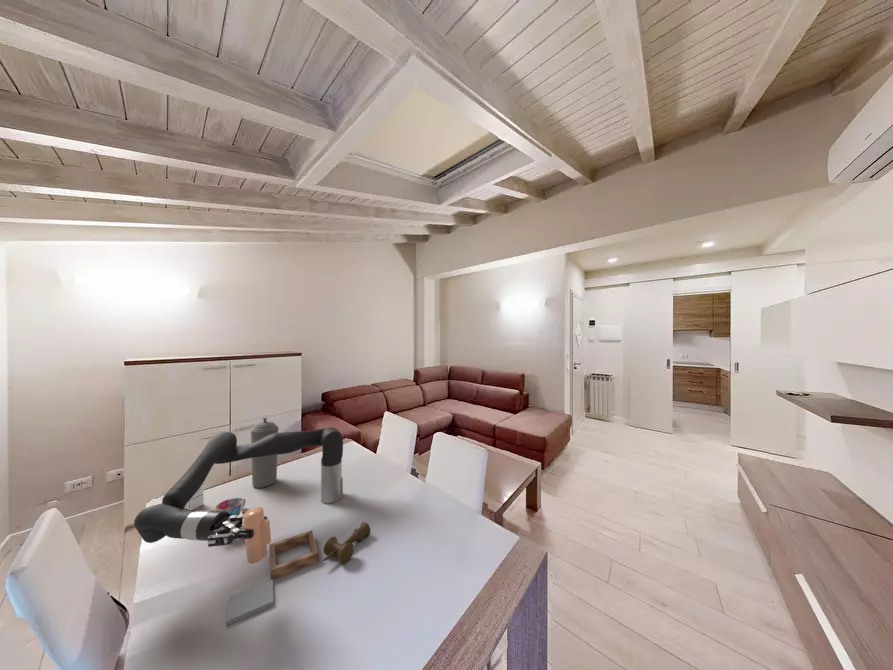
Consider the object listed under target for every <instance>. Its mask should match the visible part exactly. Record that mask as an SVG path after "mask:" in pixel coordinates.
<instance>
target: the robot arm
mask: <svg viewBox="0 0 893 670" xmlns="http://www.w3.org/2000/svg"><path fill="white" fill-rule="evenodd" d="M237 442H238V438H237V435H236V434H235V433H233V432H231V431H224V432H219V433H218V434H215V435H214V436H212V437H211V438H210V440H209V441H208V442H207V443H206V445H205V447H204V448H203V449H202V451H201V452H200V454H199V455H198V456H197V458H196V459H195V461H194V462H193V463H192V464H191V466H190V467H189V468H188V469H187V471H186V472H185V473H184V474H183V475H182V476H181V477H180V478H179V480H178V481H176V482H175V484H173V486H172V487H171V488H170V489H169V490H168V491H167V492H166V493H165V494H164V495H163V496H162V500H161V503H160V504H159V503H158V504H154V505H150V506H148V507H146V508H144V509H142V510H141V511H140V512H138V514H137V515H136V517H135V519H134V521H133V525H134V528H135V529H136V531H137V533H138V534H139V536H140V537H141V539H142V540H143V541H144V542H145V543H149V544H152V543H156V542H159V541H160V540H162V539H164V538H165V537H167V538H170V539H181V540H184V539H185V540H189V541H203V542H205V541H206V542H207V547H209V548H211V547H212V548H213V547H219V546H229V545H232V544H233V541H238V540H239V539H240V540H243V539H244V540H245V539H248V538H249V539H251V538H252V537H253V536H254V530H253V529H244V523H243V515H244V513H245V512H247V511H248V510H250V509H251V508H246V507H245V508H244V507H243V509H242V511H241V512H240V514H239V515H238V514H235V515H230V514H229V513H228V512H227V511H216V510H210V509H209V510H206V509H205V510H203V509H202V510H191V511H189V510H185V509H184V508H185V506H186V504H187V503H188V502H189V500H190V499H191V498H192V497H193V496H194V495H195V493H196V492H197V491H198V490H199V488H200V487H201V485H202V484H203V485H204V482H205V480H206V479H207V478H208V475H209V473H210V471H211V470H212V468H213V466H214V465H222V464H228V463H234V462H238V461H243V460H248V459H252V458H255V457H261V456H269V455H277V456H278V455H284V454H286V455H287V454H290V453H294V452H297V451H300V450H303V449H305V448H309V447H317V446H320V447H322V454H321V455H322V456H321V459H320V464H321V466H320V467H321V468H320V472H321V473H320V497H321V498H320V501H321V503H323V504H333V503H337V502H339V501H340V500H341V499H343V498H344V497H343V496H344V495H343V494H344V492H343V491H344V487H343V485H344V479H343V475H342V473H343V470H342V467H343V465H342V459H343V454H344V437H343V434H342V433H341V432H340V430H339V429H337V428H336V427H332V426H331V427H324V428H320V429H319V428H318V429H313V430H305V431H304V430H302V431H301V430H299V431H284V432H278V433H274V434H271V435H268V436H266V437H264V438H262V439H260V440H258V441H256V442H254V443H251V442H250V443H247V444H240V445H238V443H237ZM264 519H267V520H268V517H267V515H264ZM224 539H226V540H224Z"/></svg>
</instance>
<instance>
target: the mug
mask: <svg viewBox="0 0 893 670" xmlns="http://www.w3.org/2000/svg"><path fill="white" fill-rule="evenodd" d="M245 504H246V499H245V498H241V497H233V498H228V499H226V500H223V501H221V502H219V503H218V504H216V506H215V507H214V511H227V512H228V513H229V514H230V515H235V514H238V515H239V514H240V513H242V509H244V507H245V506H246V505H245Z"/></svg>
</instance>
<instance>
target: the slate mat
mask: <svg viewBox="0 0 893 670" xmlns="http://www.w3.org/2000/svg"><path fill="white" fill-rule="evenodd" d="M273 580H274V579H272V580H271V579H270V580H266V581H265V582H261V583H260V584H256V585H254V586H251V587H249V588H247V589H243V590H241V591H240V592H236V593H234V594H230V595H229V596H228V602H227V610H226V618H225V626H229V625H231V624H234V623H236V622H239V621H241V620H242V619H243V620H244V619H246V618H248V617H250V616H251V615H254V614H257V613H259V612H261V611H264V610H266V609H268V608H270V607H273V606H274V604H275V603H274V602H275V601H274V598H275V597H274V581H273Z"/></svg>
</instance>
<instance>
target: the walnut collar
mask: <svg viewBox="0 0 893 670" xmlns="http://www.w3.org/2000/svg"><path fill="white" fill-rule="evenodd" d="M314 536H315V535H314V533H313V529H311V530H308V531H306V532H302V533H300V534H297V535H293V536H291V537H288V538H285V539H282V540H279V541H275V542H273V543H269V569H270V570H269V571H270V572H269V573H270V577H269V578H270V580H272V579H273V580H275V579H277V578H281V577H283V576H285V575H288V574H291V573H292V572H295V571H298V570H300V569H303V568H305V567H308V566H310V565H313V564H315V563H318V562H319V551H318V548H317V544H316V541H315V537H314ZM306 543H308V546H309V550H310V552H309V553H305V554H304V555H301V556H299V557H295V558H292V559H290V560H288V561H284V562H282V563H280V564H277V563H276V562H277V561H276V554H278V553H280V552H284V551H286V550H288V549H292V548H295V547H297V546H300V545H303V544H306Z"/></svg>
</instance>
